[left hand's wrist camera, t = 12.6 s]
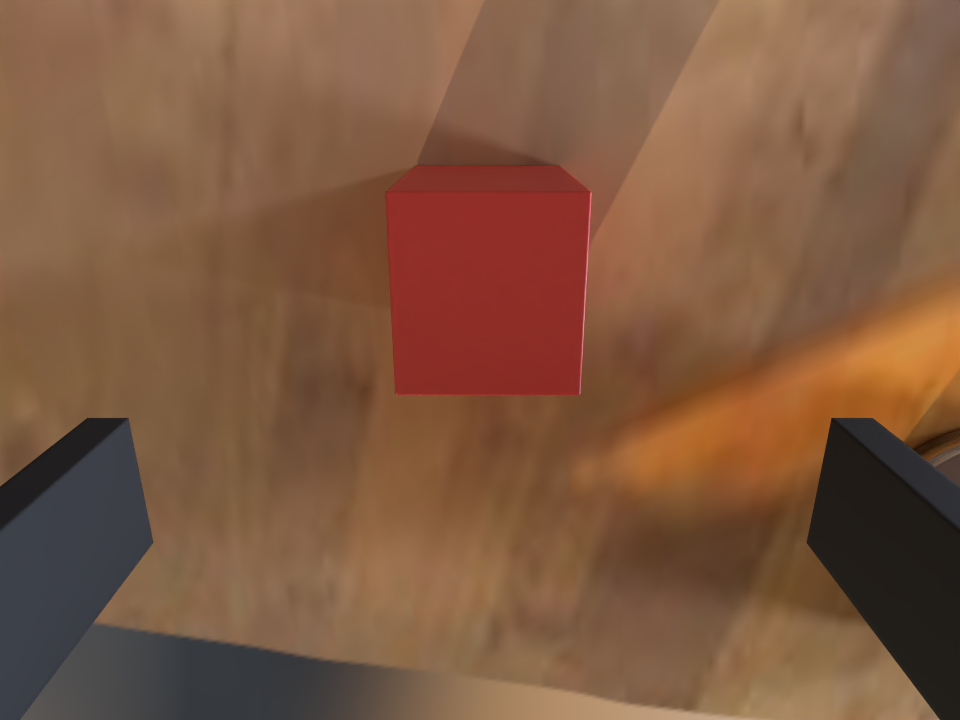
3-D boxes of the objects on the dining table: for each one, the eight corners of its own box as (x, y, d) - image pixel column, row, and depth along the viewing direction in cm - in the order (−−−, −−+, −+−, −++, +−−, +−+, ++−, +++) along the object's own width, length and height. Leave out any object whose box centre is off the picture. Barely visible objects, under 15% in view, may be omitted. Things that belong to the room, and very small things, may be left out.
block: (414, 165, 33) (385, 191, 23) (560, 165, 33) (592, 191, 23) (419, 315, 36) (395, 395, 26) (554, 315, 36) (580, 396, 26)
